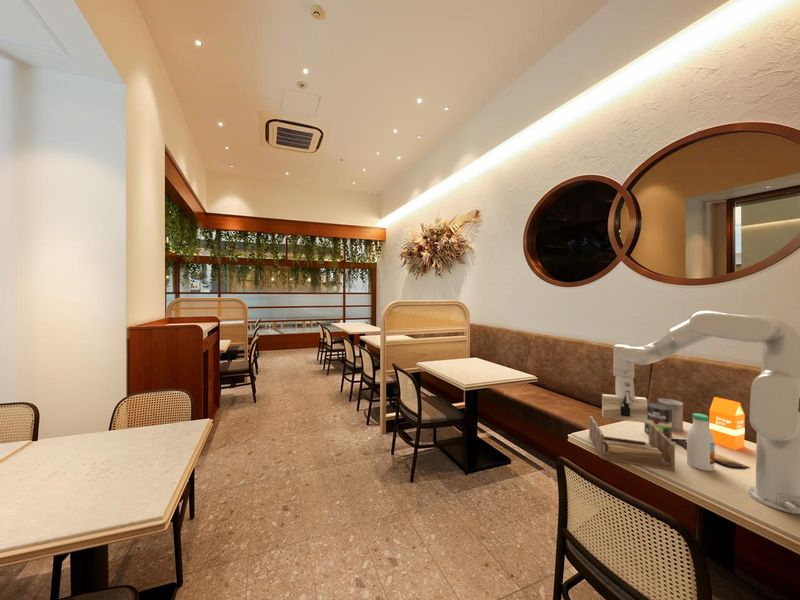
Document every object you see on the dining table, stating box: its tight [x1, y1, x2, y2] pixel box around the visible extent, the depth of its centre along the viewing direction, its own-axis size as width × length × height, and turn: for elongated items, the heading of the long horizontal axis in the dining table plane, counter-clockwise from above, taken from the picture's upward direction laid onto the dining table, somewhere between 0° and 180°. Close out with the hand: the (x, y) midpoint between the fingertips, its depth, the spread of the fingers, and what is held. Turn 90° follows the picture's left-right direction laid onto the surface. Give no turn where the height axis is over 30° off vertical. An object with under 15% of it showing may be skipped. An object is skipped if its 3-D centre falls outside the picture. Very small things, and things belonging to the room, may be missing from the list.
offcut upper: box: [605, 441, 662, 458], centre depth 127 cm, size 4×18×2 cm, turn 72°
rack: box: [588, 415, 676, 472], centre depth 133 cm, size 22×24×10 cm
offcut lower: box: [605, 447, 662, 461], centre depth 127 cm, size 4×18×2 cm, turn 69°
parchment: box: [670, 438, 749, 470], centre depth 132 cm, size 25×10×1 cm, turn 8°
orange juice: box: [708, 396, 746, 450], centre depth 141 cm, size 8×9×20 cm
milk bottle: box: [686, 412, 716, 472], centre depth 122 cm, size 8×8×20 cm
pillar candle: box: [657, 397, 684, 433], centre depth 158 cm, size 10×10×15 cm
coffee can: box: [643, 401, 673, 440], centre depth 150 cm, size 10×10×14 cm
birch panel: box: [601, 393, 648, 424], centre depth 138 cm, size 3×16×10 cm, turn 69°
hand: (624, 414), depth 138 cm, fingers closed on birch panel, 3 cm apart
